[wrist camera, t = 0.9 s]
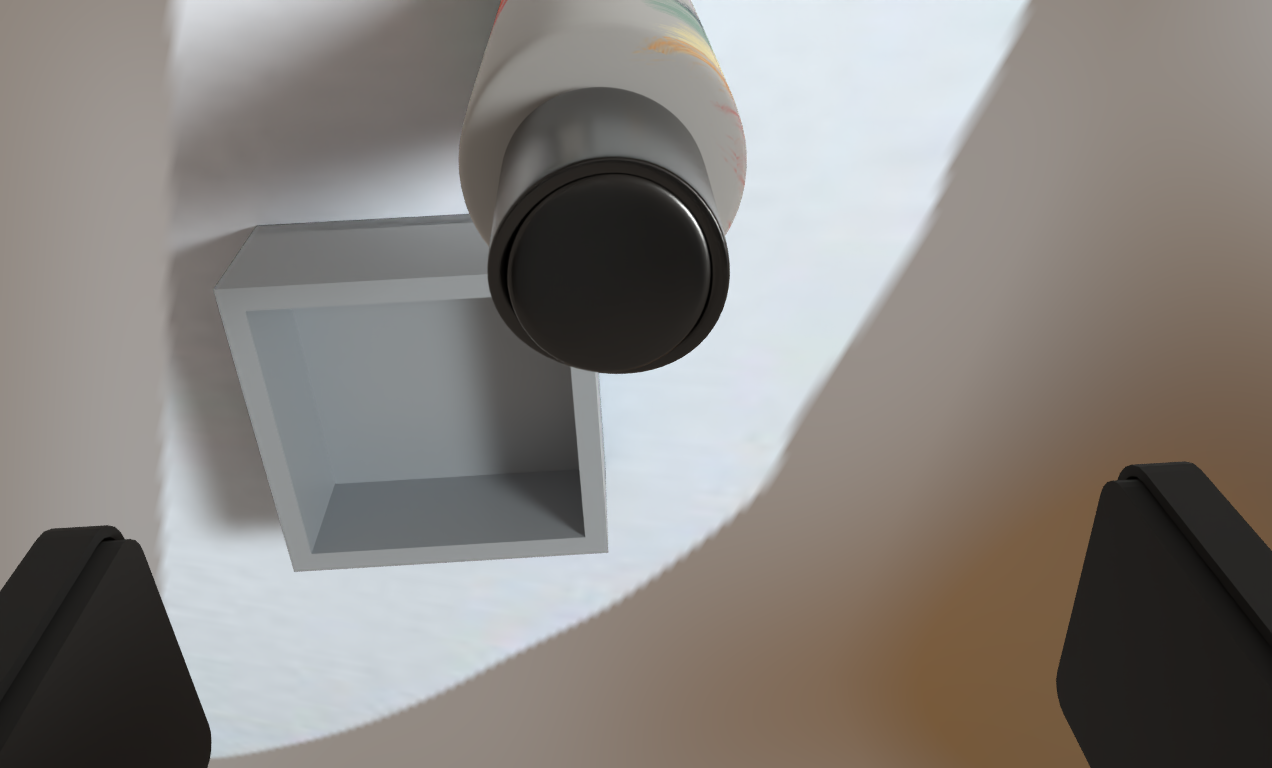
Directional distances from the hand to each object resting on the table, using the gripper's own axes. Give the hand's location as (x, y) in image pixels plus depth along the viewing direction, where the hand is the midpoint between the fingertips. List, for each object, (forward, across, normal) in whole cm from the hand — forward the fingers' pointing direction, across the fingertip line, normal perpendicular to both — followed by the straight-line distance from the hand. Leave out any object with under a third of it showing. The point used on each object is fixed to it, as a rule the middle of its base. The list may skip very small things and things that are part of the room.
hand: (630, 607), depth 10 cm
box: (+27, +7, +12) cm, 30 cm away
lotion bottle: (+27, 0, 0) cm, 27 cm away
